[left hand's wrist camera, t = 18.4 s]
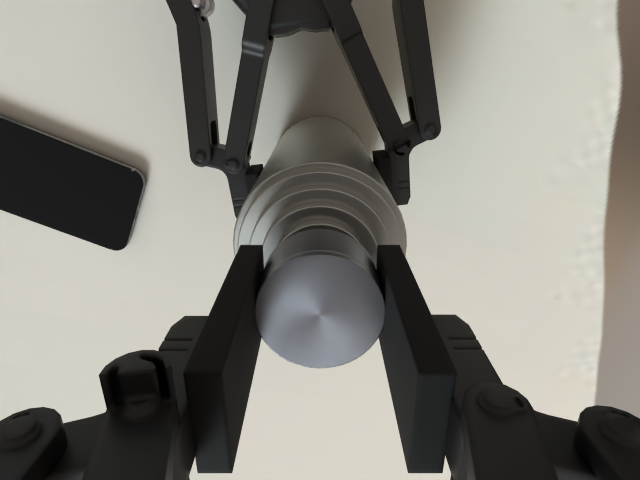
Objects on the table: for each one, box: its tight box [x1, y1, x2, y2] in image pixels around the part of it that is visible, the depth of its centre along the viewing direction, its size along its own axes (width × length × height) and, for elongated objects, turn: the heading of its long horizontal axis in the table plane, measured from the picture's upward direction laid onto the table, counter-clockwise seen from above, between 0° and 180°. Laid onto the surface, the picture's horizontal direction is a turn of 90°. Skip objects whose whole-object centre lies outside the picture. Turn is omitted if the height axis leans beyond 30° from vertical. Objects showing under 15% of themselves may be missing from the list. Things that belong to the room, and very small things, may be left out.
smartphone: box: [0, 115, 146, 250], centre depth 33 cm, size 7×1×15 cm
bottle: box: [233, 116, 407, 268], centre depth 23 cm, size 7×7×21 cm
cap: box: [255, 229, 385, 368], centre depth 14 cm, size 4×4×2 cm
